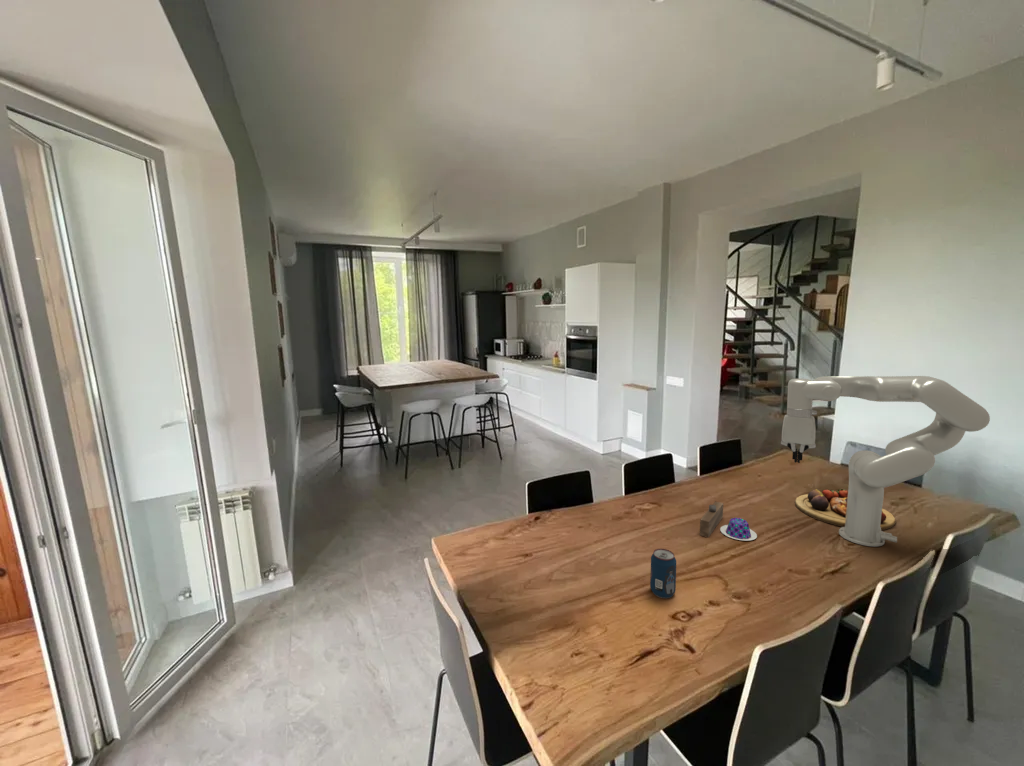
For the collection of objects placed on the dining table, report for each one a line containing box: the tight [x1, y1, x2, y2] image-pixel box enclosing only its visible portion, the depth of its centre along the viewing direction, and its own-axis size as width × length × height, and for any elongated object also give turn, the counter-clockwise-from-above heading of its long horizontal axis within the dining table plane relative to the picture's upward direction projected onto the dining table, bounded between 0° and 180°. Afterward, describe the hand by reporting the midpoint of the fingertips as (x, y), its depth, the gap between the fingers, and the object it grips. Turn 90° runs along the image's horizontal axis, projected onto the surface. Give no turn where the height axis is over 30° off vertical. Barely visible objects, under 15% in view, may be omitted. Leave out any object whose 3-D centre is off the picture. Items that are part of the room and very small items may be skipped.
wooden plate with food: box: [794, 488, 897, 531], centre depth 171 cm, size 32×32×8 cm
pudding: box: [719, 517, 758, 542], centre depth 156 cm, size 12×12×5 cm
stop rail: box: [699, 501, 724, 538], centre depth 162 cm, size 3×20×8 cm, turn 140°
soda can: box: [649, 548, 677, 599], centre depth 123 cm, size 7×7×12 cm
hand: (797, 461), depth 157 cm, fingers closed
